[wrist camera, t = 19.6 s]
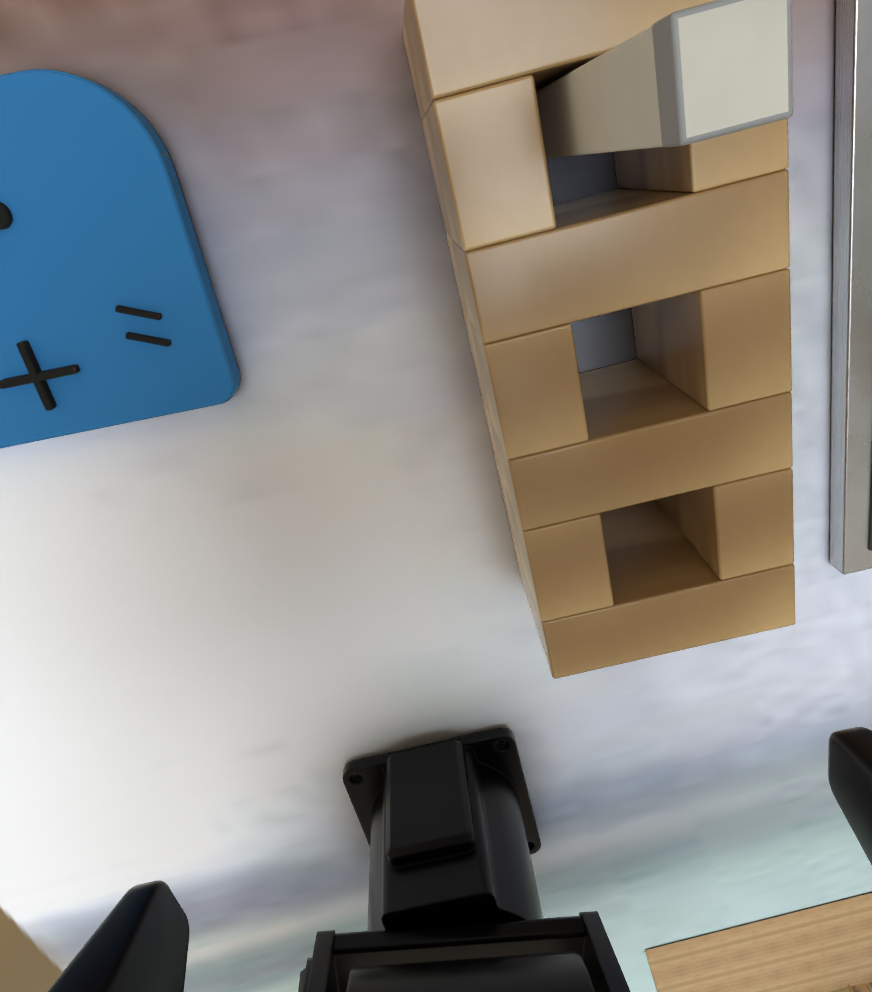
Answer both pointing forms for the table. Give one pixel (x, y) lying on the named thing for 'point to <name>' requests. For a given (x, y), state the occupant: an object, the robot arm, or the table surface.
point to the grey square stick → (676, 82)
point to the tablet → (852, 293)
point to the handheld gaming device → (97, 268)
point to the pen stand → (657, 329)
